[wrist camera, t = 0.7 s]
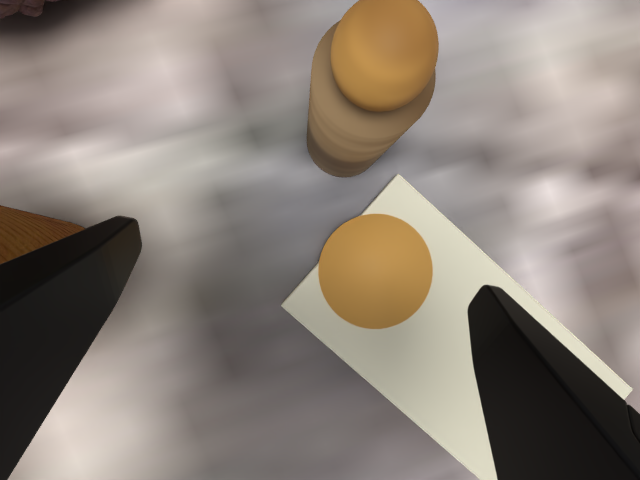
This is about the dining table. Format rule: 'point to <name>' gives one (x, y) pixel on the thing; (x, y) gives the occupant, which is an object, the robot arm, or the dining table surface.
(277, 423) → the dining table surface
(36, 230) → the disposable coffee cup
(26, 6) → the pine cone
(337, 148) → the orange ball tube
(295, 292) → the card
